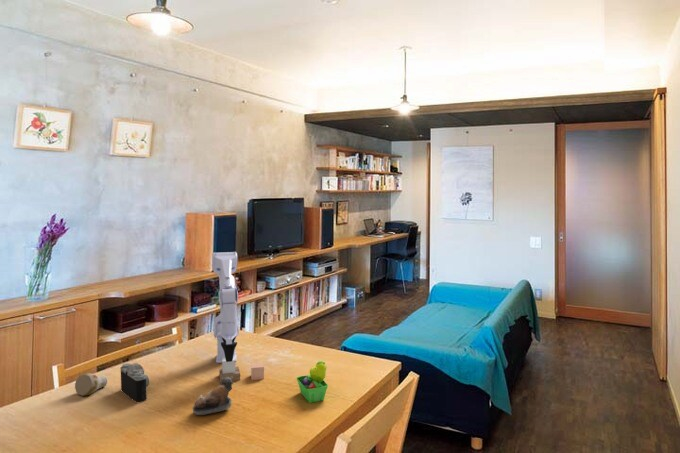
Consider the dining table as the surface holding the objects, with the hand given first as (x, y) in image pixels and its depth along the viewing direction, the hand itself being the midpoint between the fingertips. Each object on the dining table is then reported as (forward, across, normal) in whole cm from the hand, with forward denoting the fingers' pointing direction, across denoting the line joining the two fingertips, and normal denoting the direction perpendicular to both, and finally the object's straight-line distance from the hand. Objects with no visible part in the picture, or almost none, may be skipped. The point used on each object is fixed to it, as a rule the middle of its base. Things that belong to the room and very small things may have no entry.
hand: (229, 357), depth 162 cm
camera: (+8, +7, -30) cm, 32 cm away
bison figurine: (+8, +26, -5) cm, 28 cm away
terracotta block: (+8, +2, +10) cm, 13 cm away
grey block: (+5, 0, 0) cm, 5 cm away
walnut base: (+8, 0, 0) cm, 8 cm away
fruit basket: (+8, +23, +27) cm, 36 cm away
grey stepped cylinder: (+8, 0, -45) cm, 46 cm away
